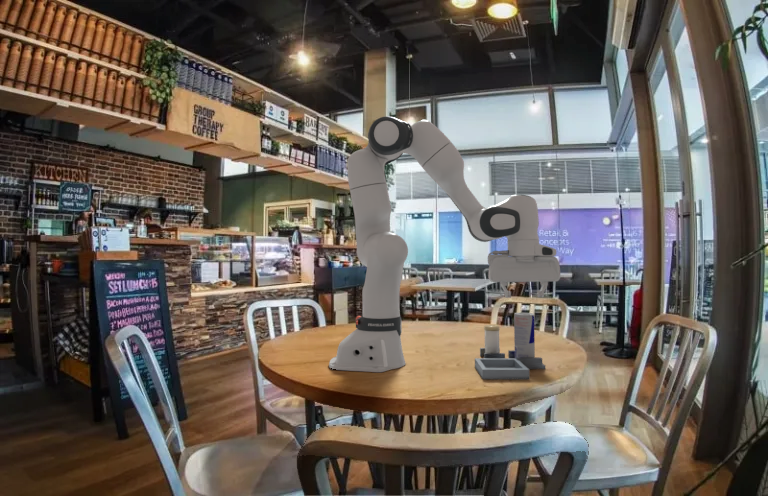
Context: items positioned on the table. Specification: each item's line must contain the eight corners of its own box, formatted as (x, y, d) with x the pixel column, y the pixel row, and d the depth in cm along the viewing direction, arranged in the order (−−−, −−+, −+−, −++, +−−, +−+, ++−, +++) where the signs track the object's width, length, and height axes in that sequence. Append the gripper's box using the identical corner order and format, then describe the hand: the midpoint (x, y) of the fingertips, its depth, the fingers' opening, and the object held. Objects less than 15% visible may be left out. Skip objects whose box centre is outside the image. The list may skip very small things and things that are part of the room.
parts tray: (482, 379, 112) (482, 369, 112) (474, 367, 124) (474, 358, 124) (529, 379, 111) (529, 369, 111) (517, 367, 123) (517, 358, 123)
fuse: (486, 360, 131) (485, 327, 131) (483, 356, 136) (482, 325, 136) (501, 360, 131) (501, 327, 131) (498, 356, 135) (497, 325, 136)
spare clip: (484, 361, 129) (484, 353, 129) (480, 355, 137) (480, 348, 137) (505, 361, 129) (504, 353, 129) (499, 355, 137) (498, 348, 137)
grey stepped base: (517, 369, 121) (517, 358, 121) (508, 360, 131) (508, 350, 131) (545, 369, 121) (545, 358, 121) (534, 360, 131) (534, 350, 131)
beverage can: (536, 367, 123) (535, 314, 123) (515, 366, 124) (515, 314, 124) (533, 362, 128) (532, 312, 128) (513, 361, 129) (513, 311, 129)
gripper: (489, 250, 124) (490, 298, 123) (562, 249, 123) (563, 298, 123) (485, 250, 130) (486, 296, 130) (554, 249, 129) (555, 295, 129)
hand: (524, 297), depth 126 cm, fingers open, 8 cm apart
